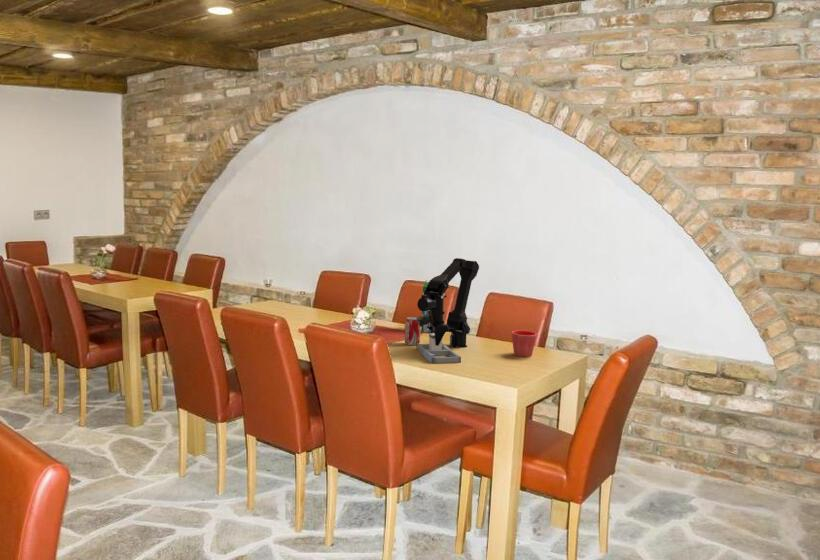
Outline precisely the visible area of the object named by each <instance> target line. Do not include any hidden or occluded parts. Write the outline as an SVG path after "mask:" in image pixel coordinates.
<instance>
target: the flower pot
mask: <svg viewBox="0 0 820 560" xmlns="http://www.w3.org/2000/svg"><path fill="white" fill-rule="evenodd" d="M511 338H512V339H511V340H512V349H513V350H512V351H513V355H515V356H518V357H523V356H526V357H527V356H529V357H532V356H533V352H534V348H535V344H536V339H537V333H536V332H533V331H530V330H512V331H511ZM526 357H525V358H526ZM527 358H528V357H527Z"/></svg>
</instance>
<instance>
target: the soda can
mask: <svg viewBox="0 0 820 560" xmlns="http://www.w3.org/2000/svg"><path fill="white" fill-rule="evenodd" d="M416 318H418V317H415V316H408V317H406V320H405V322H404V323H405V324H404V344H406V345H407V344H408V346H417V344H421V330H422V326H420V325H418V322H417V319H416Z"/></svg>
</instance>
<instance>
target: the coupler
mask: <svg viewBox="0 0 820 560" xmlns="http://www.w3.org/2000/svg"><path fill="white" fill-rule="evenodd" d="M428 337H429V339H428V344H429V349H428V350H442V344H443V339H442V340H441V342H440V344H439V345H438V346H436V343H435V334H434V333H428Z"/></svg>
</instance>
